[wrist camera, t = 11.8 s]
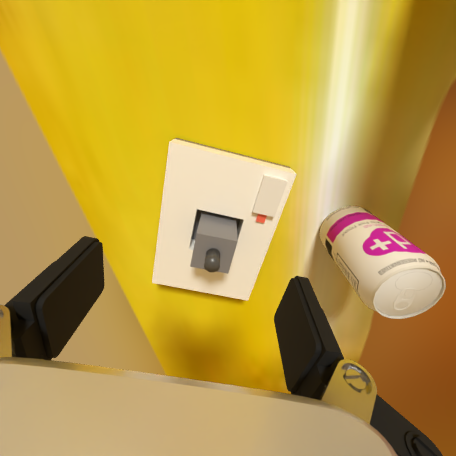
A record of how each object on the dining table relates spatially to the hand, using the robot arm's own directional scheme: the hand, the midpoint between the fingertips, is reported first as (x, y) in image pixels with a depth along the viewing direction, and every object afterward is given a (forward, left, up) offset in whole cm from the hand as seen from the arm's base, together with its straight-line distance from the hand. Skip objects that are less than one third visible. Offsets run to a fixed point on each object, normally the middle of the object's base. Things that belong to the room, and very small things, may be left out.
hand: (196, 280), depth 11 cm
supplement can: (-22, +4, -24) cm, 33 cm away
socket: (-2, +8, -24) cm, 25 cm away
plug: (-2, +8, -23) cm, 24 cm away
